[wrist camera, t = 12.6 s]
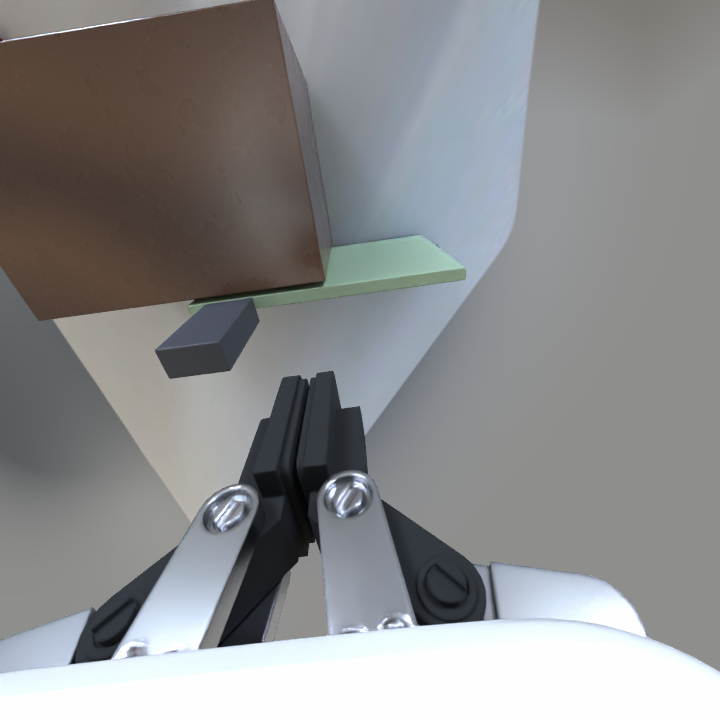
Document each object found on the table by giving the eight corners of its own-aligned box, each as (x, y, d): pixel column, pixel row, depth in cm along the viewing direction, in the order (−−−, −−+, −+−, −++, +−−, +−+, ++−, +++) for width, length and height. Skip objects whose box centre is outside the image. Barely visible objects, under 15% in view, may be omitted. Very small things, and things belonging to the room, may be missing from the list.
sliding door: (243, 259, 30) (129, 352, 14) (421, 234, 30) (512, 300, 14) (248, 276, 31) (146, 382, 15) (422, 252, 31) (508, 334, 15)
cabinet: (79, 115, 25) (-143, 63, 13) (435, 60, 24) (516, -45, 13) (159, 288, 32) (57, 349, 20) (436, 249, 31) (489, 290, 20)
